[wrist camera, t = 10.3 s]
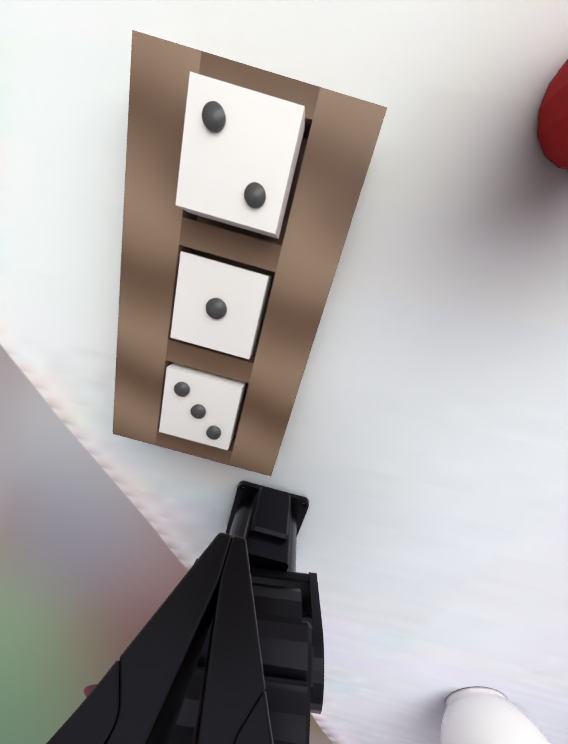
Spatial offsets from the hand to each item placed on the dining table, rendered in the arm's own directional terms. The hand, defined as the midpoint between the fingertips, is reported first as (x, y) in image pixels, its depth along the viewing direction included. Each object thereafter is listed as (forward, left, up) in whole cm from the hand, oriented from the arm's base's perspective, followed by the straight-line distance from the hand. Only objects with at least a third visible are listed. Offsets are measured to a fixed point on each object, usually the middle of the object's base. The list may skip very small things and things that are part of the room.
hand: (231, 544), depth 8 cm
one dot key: (+5, +5, -12) cm, 13 cm away
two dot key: (+12, +4, -10) cm, 17 cm away
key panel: (+5, +4, -13) cm, 15 cm away
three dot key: (-2, +5, -11) cm, 12 cm away
